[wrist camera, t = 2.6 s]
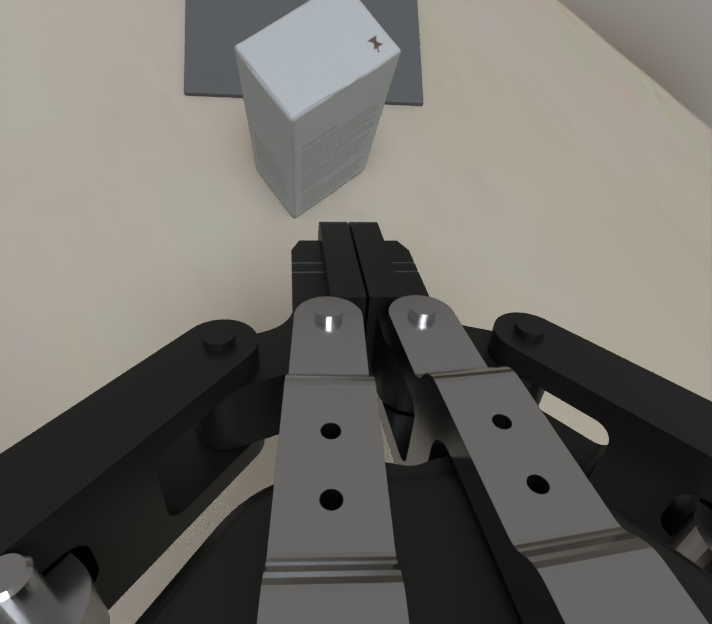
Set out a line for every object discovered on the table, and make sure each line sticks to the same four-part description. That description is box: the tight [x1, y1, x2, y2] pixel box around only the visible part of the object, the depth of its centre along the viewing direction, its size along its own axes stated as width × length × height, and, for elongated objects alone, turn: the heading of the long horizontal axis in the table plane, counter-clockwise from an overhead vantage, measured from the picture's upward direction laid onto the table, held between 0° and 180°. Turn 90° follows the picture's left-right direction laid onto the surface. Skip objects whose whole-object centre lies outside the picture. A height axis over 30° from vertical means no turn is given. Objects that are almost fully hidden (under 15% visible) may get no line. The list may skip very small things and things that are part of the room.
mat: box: [184, 0, 423, 106], centre depth 33 cm, size 12×16×1 cm
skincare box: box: [234, 0, 401, 218], centre depth 26 cm, size 6×4×12 cm
